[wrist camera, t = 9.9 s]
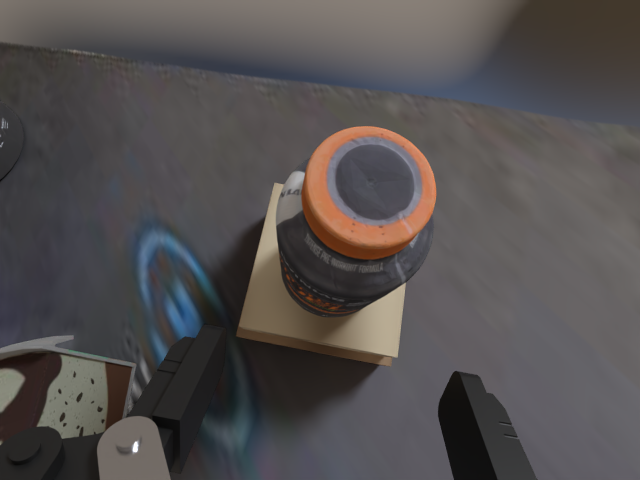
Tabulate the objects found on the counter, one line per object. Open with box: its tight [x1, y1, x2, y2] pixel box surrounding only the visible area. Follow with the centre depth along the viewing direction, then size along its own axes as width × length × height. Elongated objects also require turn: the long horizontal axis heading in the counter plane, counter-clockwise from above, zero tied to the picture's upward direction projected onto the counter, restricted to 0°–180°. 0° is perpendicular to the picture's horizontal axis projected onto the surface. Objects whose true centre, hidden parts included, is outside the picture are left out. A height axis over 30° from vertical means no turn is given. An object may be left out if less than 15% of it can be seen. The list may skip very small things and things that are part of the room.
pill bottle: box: [276, 126, 436, 317], centre depth 16 cm, size 6×6×11 cm
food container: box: [0, 335, 136, 445], centre depth 18 cm, size 12×6×10 cm, turn 177°
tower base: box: [236, 183, 406, 366], centre depth 24 cm, size 10×10×6 cm
